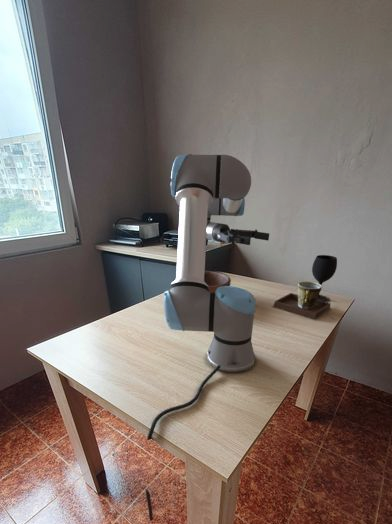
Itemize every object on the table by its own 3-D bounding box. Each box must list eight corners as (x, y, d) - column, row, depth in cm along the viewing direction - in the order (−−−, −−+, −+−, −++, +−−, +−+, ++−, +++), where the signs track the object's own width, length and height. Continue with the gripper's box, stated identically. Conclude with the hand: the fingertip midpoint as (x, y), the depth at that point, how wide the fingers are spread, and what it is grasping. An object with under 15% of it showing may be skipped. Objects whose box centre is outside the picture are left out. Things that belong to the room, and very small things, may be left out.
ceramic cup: (295, 300, 137) (299, 280, 132) (317, 304, 134) (322, 283, 129) (291, 310, 127) (296, 289, 122) (315, 314, 124) (321, 292, 118)
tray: (314, 319, 121) (316, 313, 120) (273, 307, 133) (274, 301, 131) (329, 309, 131) (330, 303, 130) (289, 298, 142) (290, 292, 141)
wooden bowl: (197, 287, 155) (197, 267, 150) (238, 297, 142) (240, 276, 137) (167, 300, 137) (166, 279, 132) (210, 313, 125) (211, 290, 120)
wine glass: (330, 297, 144) (340, 256, 134) (325, 304, 136) (336, 261, 126) (308, 293, 149) (317, 253, 138) (303, 299, 141) (312, 257, 131)
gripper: (234, 237, 137) (274, 244, 125) (199, 245, 121) (240, 253, 109) (235, 220, 133) (276, 225, 121) (199, 226, 117) (242, 232, 105)
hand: (259, 239), depth 115 cm, fingers open, 13 cm apart
